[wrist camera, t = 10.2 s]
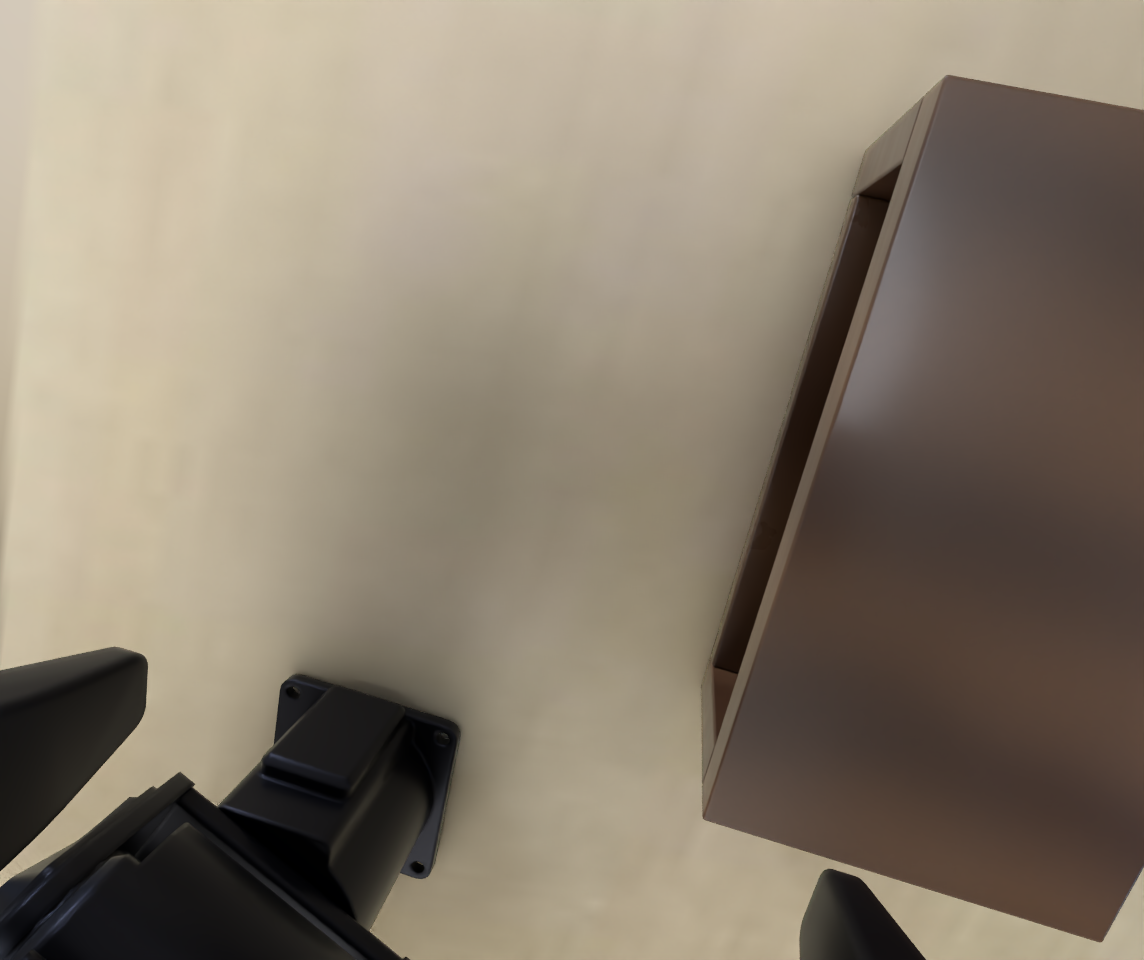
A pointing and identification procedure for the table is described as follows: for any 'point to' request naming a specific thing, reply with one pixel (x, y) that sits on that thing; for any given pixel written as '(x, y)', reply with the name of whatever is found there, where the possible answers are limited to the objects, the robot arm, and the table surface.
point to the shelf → (958, 526)
